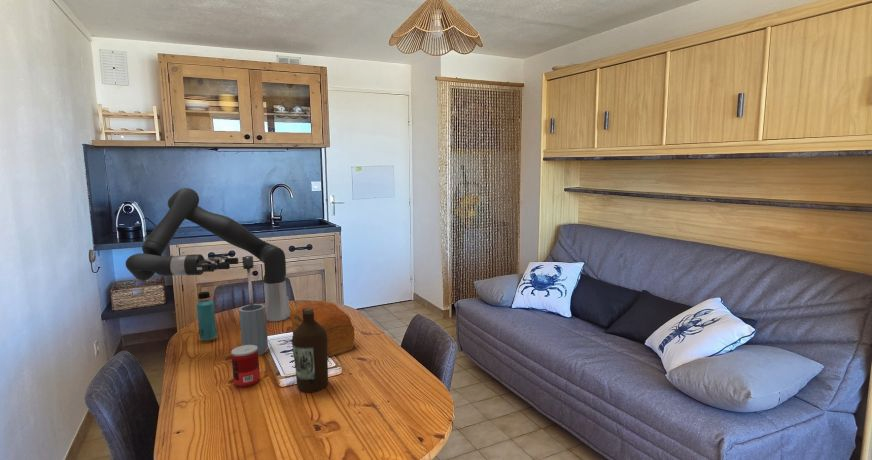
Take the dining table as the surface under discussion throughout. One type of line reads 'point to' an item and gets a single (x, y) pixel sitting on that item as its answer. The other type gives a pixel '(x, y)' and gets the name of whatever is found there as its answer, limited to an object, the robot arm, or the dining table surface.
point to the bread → (330, 326)
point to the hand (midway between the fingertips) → (233, 263)
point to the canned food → (245, 365)
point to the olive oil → (310, 354)
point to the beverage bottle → (206, 317)
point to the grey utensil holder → (254, 327)
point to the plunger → (249, 276)
